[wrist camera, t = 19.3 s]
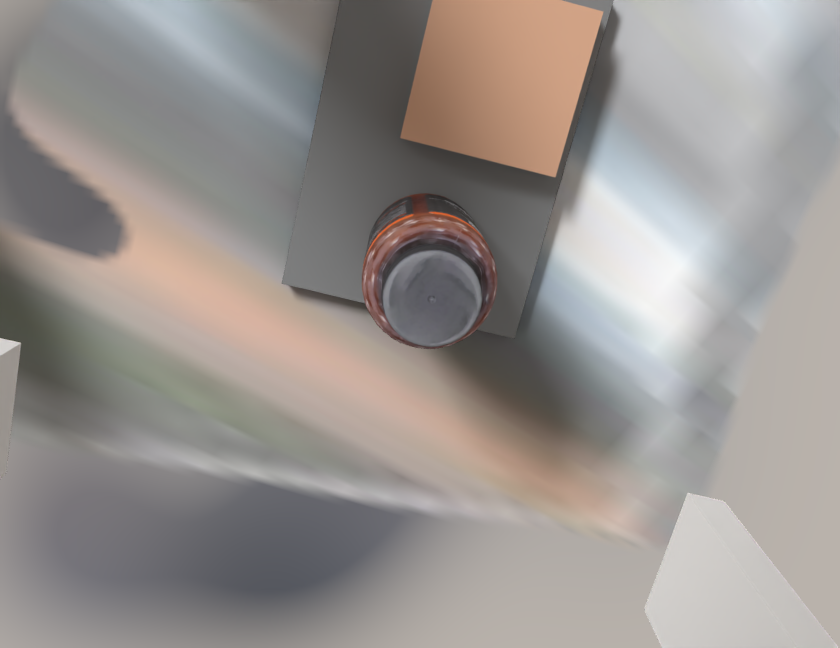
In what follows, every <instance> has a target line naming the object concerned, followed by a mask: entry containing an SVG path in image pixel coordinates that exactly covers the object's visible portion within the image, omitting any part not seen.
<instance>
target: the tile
mask: <svg viewBox="0 0 840 648" xmlns="http://www.w3.org/2000/svg"><path fill="white" fill-rule="evenodd" d="M602 15H603V11H599V10H596V9H592V8H588V7H585V6H581V5H577V4H573V3H570V2H566V1H562V0H432V5H431V9H430V13H429V17H428V22H427V26H426V30H425V34H424V39H423V43H422V47H421V51H420V56H419V60H418V64H417V68H416V73H415V77H414V81H413V85H412V89H411V94H410V98H409V102H408V106H407V111H406V115H405V119H404V123H403V128H402V132H401V136H400V138H402V139H406V140H410V141H414V142H418V143H422V144H426V145H430V146H434V147H438V148H442V149H446V150H449V151H453V152H457V153H461V154H465V155H469V156H473V157H477V158H481V159H485V160H489V161H493V162H497V163H501V164H504V165H508V166H512V167H516V168H520V169H524V170H528V171H532V172H536V173H540V174H544V175H548V176H552V177H556V173H557V170H558V167H559V163H560V160H561V156H562V153H563V149H564V146H565V143H566V139H567V136H568V132H569V129H570V125H571V122H572V118H573V115H574V112H575V108H576V105H577V101H578V98H579V94H580V91H581V88H582V84H583V81H584V77H585V74H586V70H587V67H588V63H589V60H590V57H591V53H592V50H593V46H594V43H595V39H596V36H597V33H598V29H599V26H600V22H601V19H602Z"/></svg>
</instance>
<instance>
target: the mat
mask: <svg viewBox="0 0 840 648" xmlns="http://www.w3.org/2000/svg"><path fill="white" fill-rule="evenodd" d="M562 1H566V2H570V3H573V4H577V5H581V6H585V7H588V8H592V9H596V10H599V11H603V15H602V19H601V22H600V26H599V29H598V33H597V36H596V39H595V43H594V46H593V50H592V53H591V57H590V60H589V63H588V67H587V70H586V74H585V77H584V81H583V84H582V88H581V91H580V94H579V98H578V101H577V105H576V108H575V112H574V115H573V118H572V122H571V125H570V129H569V132H568V136H567V139H566V143H565V146H564V149H563V153H562V156H561V160H560V163H559V167H558V170H557V173H556V177H552V176H548V175H544V174H540V173H536V172H532V171H528V170H524V169H520V168H516V167H512V166H508V165H504V164H501V163H497V162H493V161H489V160H485V159H481V158H477V157H473V156H469V155H465V154H461V153H457V152H453V151H449V150H446V149H442V148H438V147H434V146H430V145H426V144H422V143H418V142H414V141H410V140H406V139H402V138H400V136H401V132H402V128H403V123H404V119H405V115H406V111H407V106H408V102H409V98H410V94H411V89H412V85H413V81H414V77H415V73H416V68H417V64H418V60H419V56H420V51H421V47H422V43H423V39H424V34H425V30H426V26H427V22H428V17H429V13H430V9H431V5H432V0H340V4H339V9H338V14H337V19H336V23H335V28H334V33H333V38H332V43H331V48H330V52H329V57H328V62H327V67H326V72H325V77H324V82H323V86H322V91H321V96H320V101H319V106H318V111H317V115H316V120H315V125H314V130H313V135H312V140H311V144H310V149H309V154H308V159H307V164H306V169H305V173H304V178H303V183H302V188H301V193H300V198H299V202H298V207H297V212H296V217H295V222H294V227H293V232H292V236H291V241H290V246H289V251H288V256H287V261H286V265H285V270H284V275H283V280H282V284H286V285H290V286H294V287H298V288H303V289H307V290H311V291H315V292H320V293H324V294H328V295H332V296H336V297H341V298H345V299H349V300H353V301H357V302H362V303H365V301H364V297H363V292H362V271H363V262H364V259H365V254H366V250H367V245H368V240H369V235H370V232H371V230H372V228H373V226H374V224H375V222H376V220H377V219H378V218H379V216H380V215H381V214H382V212H383V211H384V210H385V209H386V208H387V207H388V206H390V205H391V204H393V203H394V202H396V201H397V200H399V199H401V198H403V197H406V196H409V195H414V194H423V193H428V194H436V195H440V196H444V197H446V198H448V199H450V200H452V201H454V202H455V203H457V204H458V205H459V206H461V207H462V208H463V209H464V210H465V211H466V212H467V213H468V214H469V215H470V216H471V218H472V219H473V221H474V222H475V224H476V226H477V227H478V229H479V231H480V233H481V234H482V236H483V237H484V239H485V241H486V242H487V245H488V247H489V249H490V250H491V253H492V255H493V258H494V261H495V265H496V270H497V291H496V297H495V300H494V304H493V306H492V308H491V311H490V312H489V314H488V316H487V318H486V319H485V320H484V322H483V323H482V324H481V325H480V326H479V327H478V328H477V329H476V330H480V331H484V332H488V333H492V334H496V335H501V336H505V337H509V338H513V339H515V335H516V332H517V328H518V325H519V322H520V318H521V315H522V311H523V308H524V304H525V301H526V298H527V294H528V291H529V287H530V284H531V281H532V277H533V274H534V270H535V267H536V264H537V260H538V257H539V253H540V250H541V246H542V243H543V240H544V236H545V233H546V229H547V226H548V223H549V219H550V216H551V212H552V209H553V206H554V202H555V199H556V195H557V192H558V188H559V185H560V182H561V178H562V175H563V171H564V168H565V165H566V161H567V158H568V154H569V151H570V148H571V144H572V141H573V137H574V134H575V130H576V127H577V124H578V120H579V117H580V113H581V110H582V107H583V103H584V100H585V96H586V93H587V89H588V86H589V83H590V79H591V76H592V72H593V69H594V66H595V62H596V59H597V55H598V52H599V49H600V45H601V42H602V38H603V35H604V31H605V28H606V25H607V21H608V18H609V14H610V11H611V8H612V4H613V1H614V0H562Z"/></svg>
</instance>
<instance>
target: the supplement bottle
mask: <svg viewBox="0 0 840 648" xmlns="http://www.w3.org/2000/svg"><path fill="white" fill-rule="evenodd" d="M496 291H497V270H496V265H495V261H494V258H493V255H492V253H491V250H490V249H489V247H488V245H487V242H486V241H485V239H484V237H483V236H482V234H481V233H480V231H479V229H478V227H477V226H476V224H475V222H474V221H473V219H472V218H471V216H470V215H469V214H468V213H467V212H466V211H465V210H464V209H463V208H462V207H461V206H459V205H458V204H457V203H455V202H454V201H452V200H450V199H448V198H446V197H444V196H440V195H436V194H428V193H423V194H414V195H409V196H406V197H403V198H401V199H399V200H397V201H396V202H394V203H393V204H391V205H390V206H388V207H387V208H386V209H385V210H384V211H383V212H382V214H381V215H380V216H379V218H378V219H377V220H376V222H375V224H374V226H373V228H372V230H371V232H370V235H369V240H368V245H367V250H366V254H365V259H364V262H363V271H362V292H363V297H364V301H365V304H366V307H367V309H368V311H369V313H370V315H371V316H372V318H373V319H374V321H375V322H376V324H377V325H378V326H379V327H380V328H381V329H382V330H383V331H384V332H385V333H386V334H388V335H389V336H390V337H391V338H393V339H395V340H397V341H398V342H400V343H403V344H406V345H409V346H412V347H416V348H424V349H435V348H443V347H446V346H450V345H453V344H454V343H457V342H459V341H461V340H463V339H465V338H467V337H468V336H469V335H471V334H472V333H473V332H474V331H475V330H476V329H477V328H478V327H479V326H480V325H481V324H482V323H483V322H484V320H485V319H486V318H487V316H488V314H489V312H490V311H491V308H492V306H493V304H494V300H495V297H496Z"/></svg>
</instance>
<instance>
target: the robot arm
mask: <svg viewBox="0 0 840 648" xmlns="http://www.w3.org/2000/svg"><path fill="white" fill-rule="evenodd" d="M20 349H21V343H20V342H15V341H11V340H6V339H2V338H0V479H1V478H2V477H3V476H4V475H5V474H6V470H7V461H8V453H9V444H10V435H11V427H12V418H13V410H14V401H15V392H16V384H17V375H18V367H19V358H20ZM644 610H645V612H646V615H647V617H648V619H649V621H650V623H651V626H652V628H653V630H654V632H655V634H656V636H657V639H658V641H659V643H660V645H661V647H662V648H839V647H838V646H837V645H836V643H835V642H834V641H833V640H832V639H831V637H830V636H829V634H828V633H827V632H826V631H825V629H824V628H823V627H822V625H821V624H820V623H819V622H818V621H817V619H816V618H815V617H814V615H813V614H812V613H811V611H810V610H809V609H808V608H807V606H806V605H805V604H804V602H803V601H802V600H801V599H800V597H799V596H798V595H797V594H796V592H795V591H794V590H793V588H792V587H791V586H790V585H789V583H788V582H787V581H786V579H785V578H784V577H783V576H782V574H781V573H780V572H779V571H778V569H777V568H776V567H775V565H774V564H773V563H772V562H771V560H770V559H769V558H768V557H767V555H766V554H765V553H764V551H763V550H762V549H761V548H760V546H759V545H758V544H757V543H756V541H755V540H754V539H753V537H752V536H751V535H750V533H749V532H748V531H747V530H746V528H745V527H744V526H743V525H742V523H741V522H740V521H739V519H738V518H737V517H736V516H735V514H734V513H733V512H732V510H731V509H730V508H729V507H728V505H727V504H726V503H725V502H724V501H722V500H717V499H713V498H708V497H704V496H700V495H695V494H691V493H688V494H687V496H686V499H685V502H684V504H683V507H682V510H681V512H680V515H679V518H678V520H677V523H676V526H675V528H674V531H673V534H672V536H671V539H670V542H669V544H668V547H667V550H666V552H665V555H664V558H663V560H662V563H661V566H660V568H659V571H658V574H657V576H656V579H655V582H654V584H653V587H652V590H651V593H650V595H649V598H648V600H647V603H646V606H645V608H644Z"/></svg>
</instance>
